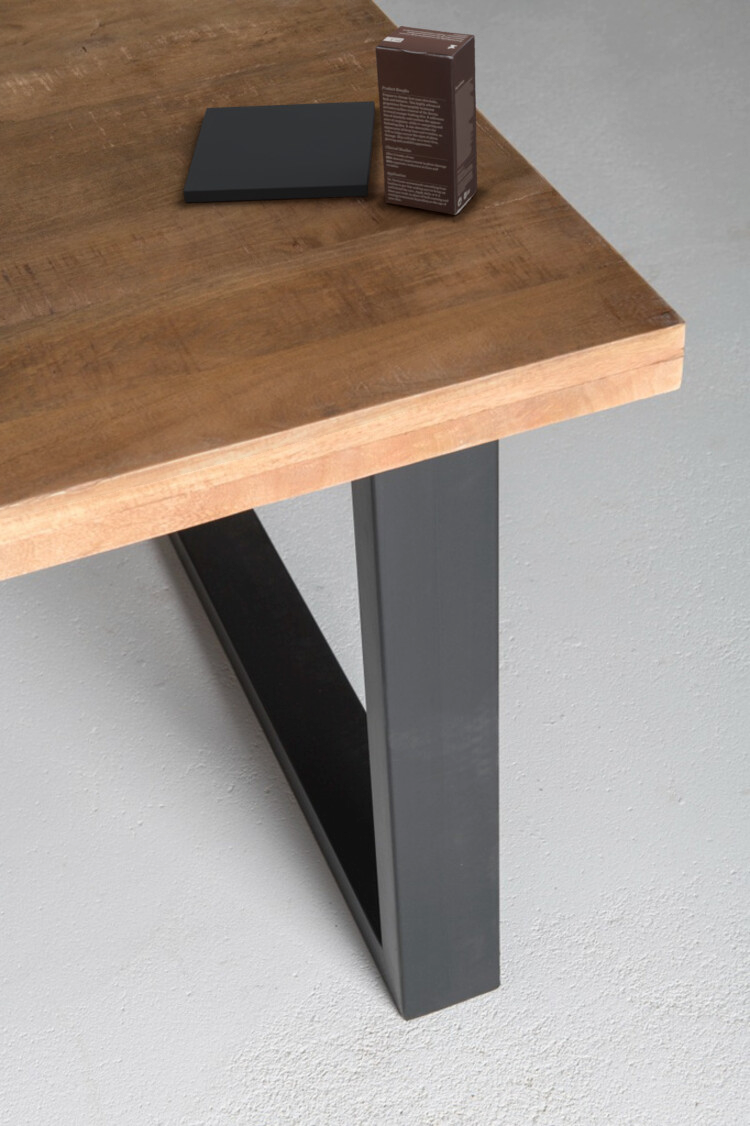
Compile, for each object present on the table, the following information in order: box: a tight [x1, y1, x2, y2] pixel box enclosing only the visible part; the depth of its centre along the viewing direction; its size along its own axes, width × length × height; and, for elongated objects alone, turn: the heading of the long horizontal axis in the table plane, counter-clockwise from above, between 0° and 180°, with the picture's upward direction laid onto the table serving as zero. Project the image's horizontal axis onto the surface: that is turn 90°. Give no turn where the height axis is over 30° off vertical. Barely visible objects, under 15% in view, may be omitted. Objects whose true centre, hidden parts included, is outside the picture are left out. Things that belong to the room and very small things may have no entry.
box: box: [374, 25, 478, 216], centre depth 102 cm, size 6×4×12 cm
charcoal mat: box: [182, 100, 376, 203], centre depth 112 cm, size 14×14×1 cm
